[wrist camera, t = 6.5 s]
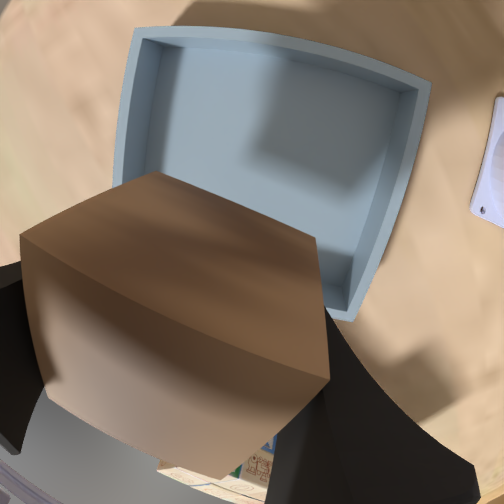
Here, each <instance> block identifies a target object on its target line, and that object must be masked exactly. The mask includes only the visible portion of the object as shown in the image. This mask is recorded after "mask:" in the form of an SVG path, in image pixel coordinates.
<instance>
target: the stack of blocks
mask: <svg viewBox="0 0 504 504" xmlns="http://www.w3.org/2000/svg"><path fill="white" fill-rule="evenodd" d="M276 439H277V434H276V435H275V436H274V437H273V438H272V439H270V440H269V441H268V442H267V443H266V444H265V445H264V446H263V447H261V448H260V449H259V450H258V451H257V452H256V453H254V454H253V455H252V456H251V457H250V458H248V459H247V460H246V461H245V462H244V463H242V464H241V465H240V466H239V467H237V468H236V469H235V470H234V471H232V472H231V473H230V474H228V475H227V476H226V477H225V478H223V479H222V480H218V479H214V478H211V477H208V476H204V475H201V474H198V473H195V472H192V471H190V470H187V469H184V468H181V467H178V466H176V465H173V464H171V463H168V462H166V461H163V460H161V459H160V462H159V465H158V468H157V471H158V472H160V473H162V474H164V475H166V476H168V477H170V478H173V479H175V480H177V481H179V482H181V483H184V484H186V485H189V486H190V487H192V488H195V489H197V490H200V491H202V492H205V493H207V494H210V495H213V496H216V497H219V498H221V499H224V500H227V501H230V502H233V503H237V504H264V502H265V498H266V494H267V489H268V484H269V479H270V474H271V469H272V463H273V457H274V451H275V445H276Z"/></svg>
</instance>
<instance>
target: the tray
mask: <svg viewBox="0 0 504 504" xmlns="http://www.w3.org/2000/svg"><path fill="white" fill-rule="evenodd" d="M431 86H432V83H431V82H429V81H427V80H425V79H423V78H420V77H418V76H416V75H414V74H411V73H409V72H407V71H404V70H402V69H400V68H397V67H395V66H392V65H389V64H387V63H384V62H381V61H379V60H376V59H373V58H370V57H367V56H364V55H361V54H358V53H355V52H352V51H348V50H345V49H341V48H338V47H334V46H331V45H327V44H323V43H319V42H315V41H310V40H306V39H301V38H296V37H291V36H286V35H280V34H274V33H268V32H261V31H254V30H245V29H235V28H224V27H207V26H157V27H140V28H135V29H134V33H133V37H132V41H131V46H130V50H129V55H128V59H127V64H126V70H125V75H124V81H123V86H122V93H121V99H120V106H119V114H118V122H117V131H116V140H115V152H114V166H113V185H112V188H114V187H117V186H119V185H121V184H124V183H126V182H129V181H131V180H133V179H136V178H138V177H141V176H143V175H146V174H149V173H151V172H154V171H158V172H161V173H164V174H166V175H169V176H171V177H174V178H176V179H179V180H181V181H184V182H186V183H189V184H191V185H194V186H196V187H199V188H201V189H204V190H206V191H209V192H211V193H214V194H216V195H219V196H221V197H223V198H226V199H228V200H231V201H233V202H235V203H238V204H240V205H242V206H245V207H247V208H250V209H252V210H254V211H257V212H259V213H261V214H264V215H266V216H268V217H270V218H273V219H275V220H277V221H280V222H282V223H284V224H286V225H289V226H291V227H293V228H295V229H298V230H300V231H302V232H304V233H307V234H309V235H311V236H313V237H315V238H316V245H317V252H318V260H319V267H320V275H321V284H322V292H323V301H324V306H325V307H326V309H327V311H328V312H329V314H330V316H331V318H334V319H339V320H344V321H349V322H353V321H354V319H355V317H356V315H357V313H358V310H359V308H360V306H361V304H362V302H363V300H364V297H365V295H366V293H367V291H368V289H369V286H370V284H371V282H372V279H373V277H374V275H375V272H376V270H377V267H378V265H379V263H380V260H381V258H382V255H383V253H384V250H385V247H386V245H387V242H388V240H389V237H390V234H391V232H392V229H393V226H394V223H395V221H396V218H397V215H398V212H399V209H400V206H401V203H402V200H403V197H404V194H405V191H406V188H407V184H408V181H409V178H410V174H411V171H412V167H413V164H414V160H415V157H416V153H417V149H418V145H419V142H420V138H421V134H422V129H423V125H424V121H425V116H426V112H427V107H428V102H429V97H430V91H431Z"/></svg>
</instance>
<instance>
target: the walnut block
mask: <svg viewBox="0 0 504 504" xmlns="http://www.w3.org/2000/svg"><path fill="white" fill-rule="evenodd" d="M20 256H21V269H22V279H23V288H24V296H25V303H26V309H27V315H28V321H29V326H30V331H31V336H32V341H33V345H34V349H35V353H36V357H37V361H38V365H39V369H40V372H41V376H42V379H43V383H44V386H45V389H46V392H47V395H48V397H49V398H50V399H51V400H53V401H54V402H55V403H57V404H58V405H60V406H62V407H63V408H64V409H66V410H67V411H69V412H71V413H72V414H74V415H75V416H77V417H78V418H80V419H82V420H83V421H85V422H87V423H88V424H90V425H92V426H93V427H95V428H97V429H99V430H101V431H102V432H104V433H106V434H108V435H110V436H112V437H113V438H115V439H117V440H119V441H121V442H123V443H125V444H127V445H129V446H131V447H134V448H136V449H138V450H140V451H142V452H145V453H147V454H149V455H151V456H153V457H156V458H158V459H161V460H163V461H166V462H168V463H171V464H173V465H176V466H178V467H181V468H184V469H187V470H190V471H192V472H195V473H198V474H201V475H204V476H208V477H211V478H214V479H218V480H222V479H223V478H225V477H226V476H227V475H228V474H230V473H231V472H232V471H234V470H235V469H236V468H237V467H239V466H240V465H241V464H242V463H244V462H245V461H246V460H247V459H248V458H250V457H251V456H252V455H253V454H254V453H256V452H257V451H258V450H259V449H260V448H261V447H263V446H264V445H265V444H266V443H267V442H268V441H269V440H270V439H272V438H273V437H274V436H275V435H276V434H277V433H278V432H279V431H280V430H281V429H282V428H283V427H285V426H286V425H287V424H288V423H289V422H290V421H291V420H292V419H293V418H294V417H295V416H296V415H297V414H298V413H299V412H300V411H301V410H302V409H303V408H304V407H305V406H306V405H307V404H308V403H309V402H310V401H311V400H312V399H313V398H314V397H315V396H316V395H317V394H318V392H319V391H320V390H321V389H322V388H323V387H324V386H325V385H326V384H327V383H328V382H329V381H330V370H329V356H328V343H327V332H326V321H325V311H324V301H323V292H322V284H321V275H320V267H319V260H318V252H317V245H316V238H315V237H313V236H311V235H309V234H307V233H304V232H302V231H300V230H298V229H295V228H293V227H291V226H289V225H286V224H284V223H282V222H280V221H277V220H275V219H273V218H270V217H268V216H266V215H264V214H261V213H259V212H257V211H254V210H252V209H250V208H247V207H245V206H242V205H240V204H238V203H235V202H233V201H231V200H228V199H226V198H223V197H221V196H219V195H216V194H214V193H211V192H209V191H206V190H204V189H201V188H199V187H196V186H194V185H191V184H189V183H186V182H184V181H181V180H179V179H176V178H174V177H171V176H169V175H166V174H164V173H161V172H158V171H154V172H151V173H149V174H146V175H143V176H141V177H138V178H136V179H133V180H131V181H129V182H126V183H124V184H121V185H119V186H117V187H114V188H112V189H110V190H107V191H105V192H103V193H101V194H98V195H96V196H94V197H92V198H89V199H87V200H85V201H83V202H81V203H79V204H77V205H75V206H73V207H71V208H68V209H66V210H64V211H62V212H60V213H58V214H56V215H54V216H53V217H51V218H49V219H47V220H45V221H43V222H41V223H39V224H37V225H36V226H34V227H32V228H30V229H28V230H26V231H25V232H23V233H21V234H20Z"/></svg>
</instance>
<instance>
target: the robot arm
mask: <svg viewBox="0 0 504 504" xmlns="http://www.w3.org/2000/svg"><path fill="white" fill-rule="evenodd" d="M482 206H483V210H482V211H481V212H480V209H481V207H482ZM470 211H471V212H472V213H473V214H474V215H476V216H479V217H481V218H483V219H485V220H487V221H489V222H492V223H494V224H496V225H498V226H500V227H502V228H504V97H497V98H496V100H495V105H494V111H493V117H492V123H491V128H490V133H489V137H488V142H487V146H486V151H485V155H484V159H483V162H482V166H481V170H480V173H479V177H478V180H477V184H476V187H475V190H474V193H473V196H472V199H471V202H470ZM324 311H325V321H326V332H327V343H328V356H329V370H330V381H329V382H328V383H327V384H326V385H325V386H324V387H323V388H322V389H321V390H320V391H319V392H318V394H317V395H316V396H315V397H314V398H313V399H312V400H311V401H310V402H309V403H308V404H307V405H306V406H305V407H304V408H303V409H302V410H301V411H300V412H299V413H298V414H297V415H296V416H295V417H294V418H293V419H292V420H291V421H290V422H289V423H288V424H287V425H286V426H285V427H283V428H282V429H281V430H280V431H279V432H278V433H277V439H276V445H275V451H274V457H273V463H272V469H271V474H270V479H269V484H268V489H267V494H266V498H265V502H264V504H476V503H477V502H478V501H479V500H480V498H481V496H480V490H479V486H478V481H477V476H476V472H475V468H474V465H472V464H471V463H469V462H468V461H466V460H464V459H463V458H461V457H460V456H458V455H457V454H455V453H454V452H452V451H451V450H449V449H448V448H446V447H445V446H443V445H442V444H441V443H439V442H438V441H437V440H435V439H434V438H433V437H432V436H430V435H429V434H428V433H427V432H425V431H424V430H423V429H422V428H421V427H420V426H418V425H417V424H416V423H415V422H414V421H413V420H412V419H411V418H409V417H408V416H407V415H406V414H405V413H404V412H403V411H402V410H401V409H400V408H399V407H398V406H397V405H396V404H395V403H394V402H393V401H392V400H391V399H390V397H389V396H388V395H387V394H386V393H385V392H384V391H383V390H382V388H381V387H380V386H379V385H378V384H377V383H376V381H375V380H374V379H373V378H372V377H371V375H370V374H369V373H368V372H367V370H366V369H365V368H364V366H363V365H362V364H361V362H360V361H359V359H358V358H357V357H356V355H355V354H354V353H353V351H352V350H351V348H350V347H349V345H348V344H347V342H346V341H345V339H344V337H343V336H342V334H341V333H340V331H339V329H338V328H337V326H336V324H335V323H334V321H333V319H332V318H331V316H330V314H329V312H328V311H327V309H326V307H325V306H324ZM43 388H44V383H43V379H42V376H41V372H40V369H39V365H38V361H37V357H36V353H35V349H34V345H33V341H32V336H31V331H30V326H29V321H28V315H27V309H26V303H25V296H24V288H23V279H22V269H21V261H19V262H16V263H13V264H9V265H5V266H2V267H0V445H1V446H2V447H3V448H4V449H5V450H6V451H8V452H9V453H10V454H11V455H18V454H20V453H21V448H22V444H23V440H24V437H25V433H26V430H27V426H28V423H29V421H30V418H31V415H32V413H33V410H34V407H35V405H36V402H37V400H38V398H39V396H40V394H41V392H42V390H43ZM0 484H2V485H3V486H4V487H5V488H6V489H8V490H9V491H10V492H11V493H13V494H14V495H15V496H16V497H18V498H19V499H20V500H22V501H23V502H24V503H26V504H63V503H61V502H59V501H58V500H56V499H55V498H53V497H51V496H50V495H48V494H47V493H45V492H44V491H42V490H41V489H39V488H38V487H36V486H35V485H33V484H32V483H31V482H29V481H28V480H26V479H25V478H23V477H22V476H21V475H20V474H18V473H17V472H16V471H14V470H13V469H12V468H11V467H10V466H8V465H7V464H6V463H4V462H3V461H2V460H1V459H0ZM9 501H10V496H9V495H8V494H7V493H6V491H5V490H4V489H3V488H2V487H0V504H8V503H9Z"/></svg>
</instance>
